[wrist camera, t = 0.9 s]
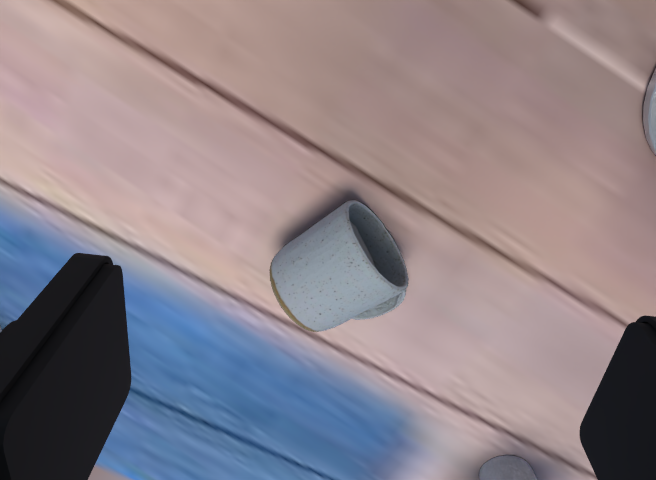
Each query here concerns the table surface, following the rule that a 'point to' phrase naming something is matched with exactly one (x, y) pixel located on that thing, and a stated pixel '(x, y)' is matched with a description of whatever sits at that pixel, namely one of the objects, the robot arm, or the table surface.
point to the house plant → (506, 469)
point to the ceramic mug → (339, 270)
